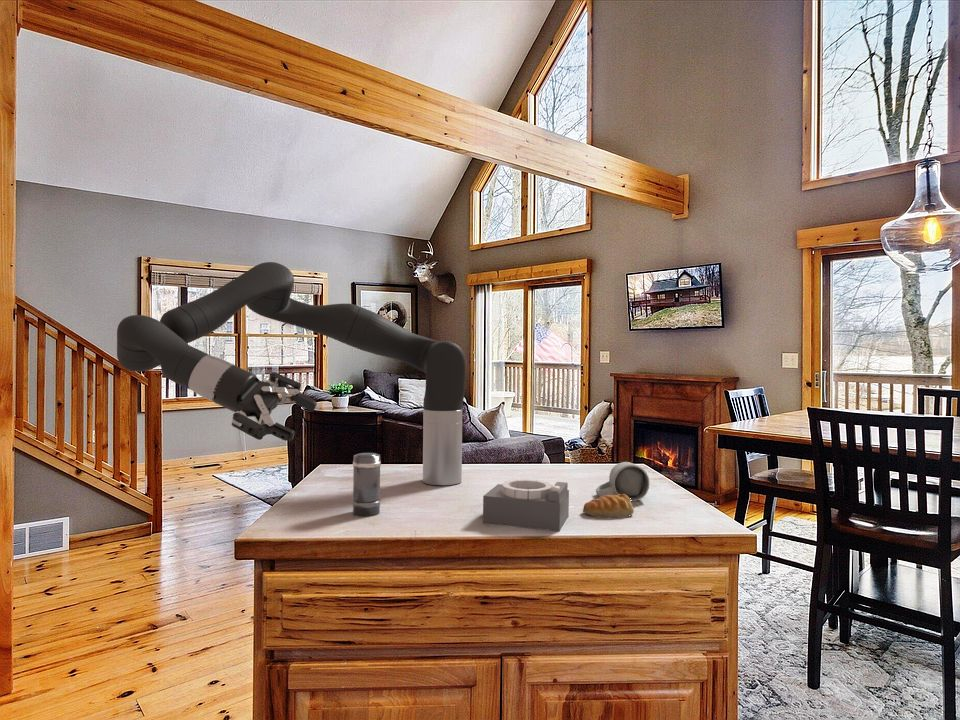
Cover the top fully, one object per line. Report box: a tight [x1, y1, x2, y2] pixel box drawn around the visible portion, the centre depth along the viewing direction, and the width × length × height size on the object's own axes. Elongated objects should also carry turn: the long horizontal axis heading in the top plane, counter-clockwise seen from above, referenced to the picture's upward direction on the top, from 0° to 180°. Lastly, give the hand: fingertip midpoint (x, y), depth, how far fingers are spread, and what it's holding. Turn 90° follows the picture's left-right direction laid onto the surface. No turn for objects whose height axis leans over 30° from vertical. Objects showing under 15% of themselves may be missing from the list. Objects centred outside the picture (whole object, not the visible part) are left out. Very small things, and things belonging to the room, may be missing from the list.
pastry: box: [582, 494, 635, 518], centre depth 117 cm, size 9×7×4 cm
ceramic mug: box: [595, 461, 650, 502], centre depth 130 cm, size 11×8×8 cm
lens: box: [352, 452, 382, 517], centre depth 115 cm, size 5×5×11 cm
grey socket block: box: [482, 478, 570, 532], centre depth 111 cm, size 10×14×7 cm
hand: (304, 421), depth 109 cm, fingers open, 8 cm apart
